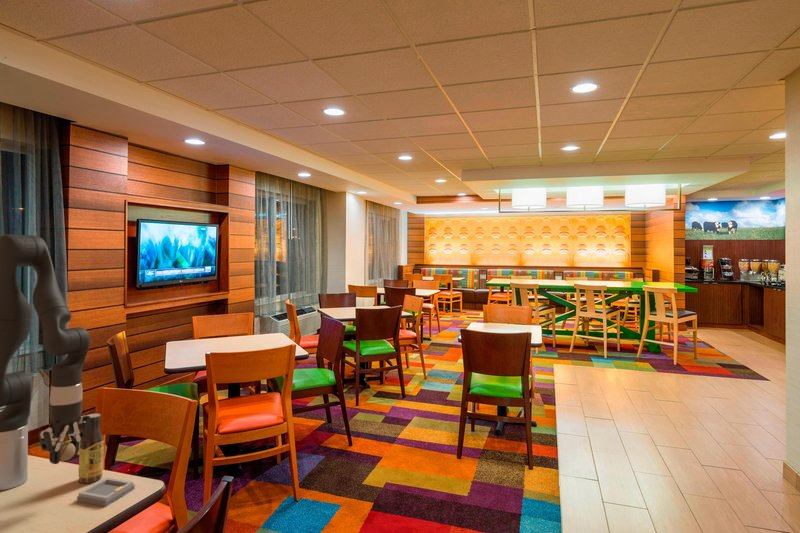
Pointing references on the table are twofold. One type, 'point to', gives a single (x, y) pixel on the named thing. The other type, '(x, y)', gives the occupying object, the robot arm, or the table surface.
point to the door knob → (66, 451)
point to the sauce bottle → (91, 452)
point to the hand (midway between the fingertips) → (64, 458)
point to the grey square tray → (105, 491)
